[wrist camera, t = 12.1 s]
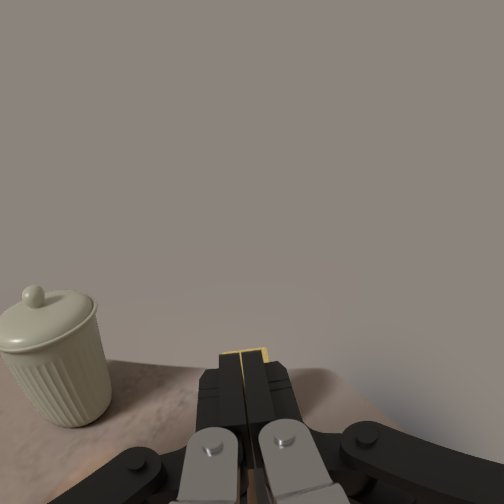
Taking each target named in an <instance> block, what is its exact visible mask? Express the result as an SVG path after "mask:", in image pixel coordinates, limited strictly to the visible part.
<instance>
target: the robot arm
mask: <svg viewBox="0 0 504 504" xmlns="http://www.w3.org/2000/svg"><path fill="white" fill-rule="evenodd" d="M241 357H242V367H243V373H242V367H241V360H240V354H239V352H238V353H229V354H221V355H219V368H218V369H207V370H205V372H204V373H203V375H202V376H201V378H200V379H199V391H198V405H197V419H196V432H195V434H194V435H192V437H191V438H190V439H189V441H188V444H187V446H185V447H184V448H182V449H180V450H177V451H174V452H170V453H167V454H163V455H158V454H157V453H156V452H155V451H154V450H152V449H150V448H146V447H133V448H129V449H127V450H125V451H123V452H121V453H120V454H119V455H117V456H116V457H115V458H113V459H112V460H111V461H109V462H108V463H106V464H105V465H104V466H102V467H101V468H99V469H98V470H97V471H95V472H94V473H92V474H91V475H89V476H88V477H87V478H85V479H84V480H82V481H81V482H79V483H78V484H76V485H75V486H73V487H72V488H70V489H69V490H67V491H66V492H64V493H63V494H61V495H60V496H58V497H57V498H55V499H54V500H52V501H51V502H49V503H47V504H249V476H248V470H249V469H255V467H254V459H253V451H252V444H253V450H254V456H255V461H256V467H257V468H263V472H264V478H265V484H266V490H267V494H268V497H269V501H270V504H504V464H500V463H496V462H493V461H489V460H485V459H481V458H478V457H474V456H471V455H468V454H464V453H461V452H457V451H455V450H451V449H448V448H445V447H442V446H439V445H436V444H433V443H430V442H427V441H424V440H422V439H419V438H416V437H414V436H411V435H408V434H405V433H403V432H400V431H398V430H395V429H392V428H390V427H387V426H385V425H382V424H380V423H377V422H373V421H361V422H357V423H354V424H352V425H350V426H349V427H347V428H346V429H345V430H344V432H343V433H342V434H340V433H321V432H317V431H314V430H312V429H310V428H309V427H308V426H306V425H305V424H304V422H303V421H302V418H301V415H300V412H299V409H298V405H297V402H296V399H295V396H294V392H293V389H292V386H291V383H290V380H289V376H288V373H287V370H286V368H285V367H284V366H283V365H282V364H280V363H279V362H278V361H274V362H267V363H264V361H263V356H262V351H261V350H253V351H246V352H241ZM243 376H244V380H243ZM244 385H245V386H244ZM250 433H251V435H250ZM251 439H252V443H251Z"/></svg>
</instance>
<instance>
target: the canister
mask: <svg viewBox="0 0 504 504" xmlns="http://www.w3.org/2000/svg"><path fill="white" fill-rule="evenodd" d="M22 299H23V301H21V302H19V303H17V304H15V305H14V306H12V307H10V308H9V309H8V310H6V311H5V312H4V313H3V314H2V315H1V316H0V354H1V356H2V358H3V360H4V362H5V363H6V365H7V366H8V368H9V370H10V371H11V373H12V374H13V376H14V378H15V379H16V381H17V382H18V384H19V385H20V387H21V388H22V390H23V391H24V393H25V394H26V395H27V397H28V398H29V400H30V401H31V402H32V404H33V405H34V406H35V407H36V409H37V410H38V411H39V412H40V413H41V415H42V416H43V417H44V418H45V419H47V420H48V421H50V422H51V423H53V424H55V425H57V426H60V427H61V426H62V427H65V428H66V427H68V428H72V427H75V428H76V427H79V426H80V427H81V426H83V425H87V424H88V423H92V421H94V420H96V419H97V418H98V417H100V416H101V415H102V414H103V413H104V412H105V410H106V409H107V408H108V406H109V404H110V401H111V397H112V387H111V380H110V376H109V372H108V368H107V363H106V359H105V355H104V351H103V347H102V343H101V338H100V334H99V329H98V324H97V320H96V315H95V314H96V311H97V301H96V300H95V298H93V297H92V296H90V295H88V294H84V293H81V292H78V291H72V290H60V291H52V292H47V293H44V291H43V289H42V288H41V287H40V286H38V285H31V286H29V287H27V288H26V289H25V290H24V291H23V293H22Z"/></svg>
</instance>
